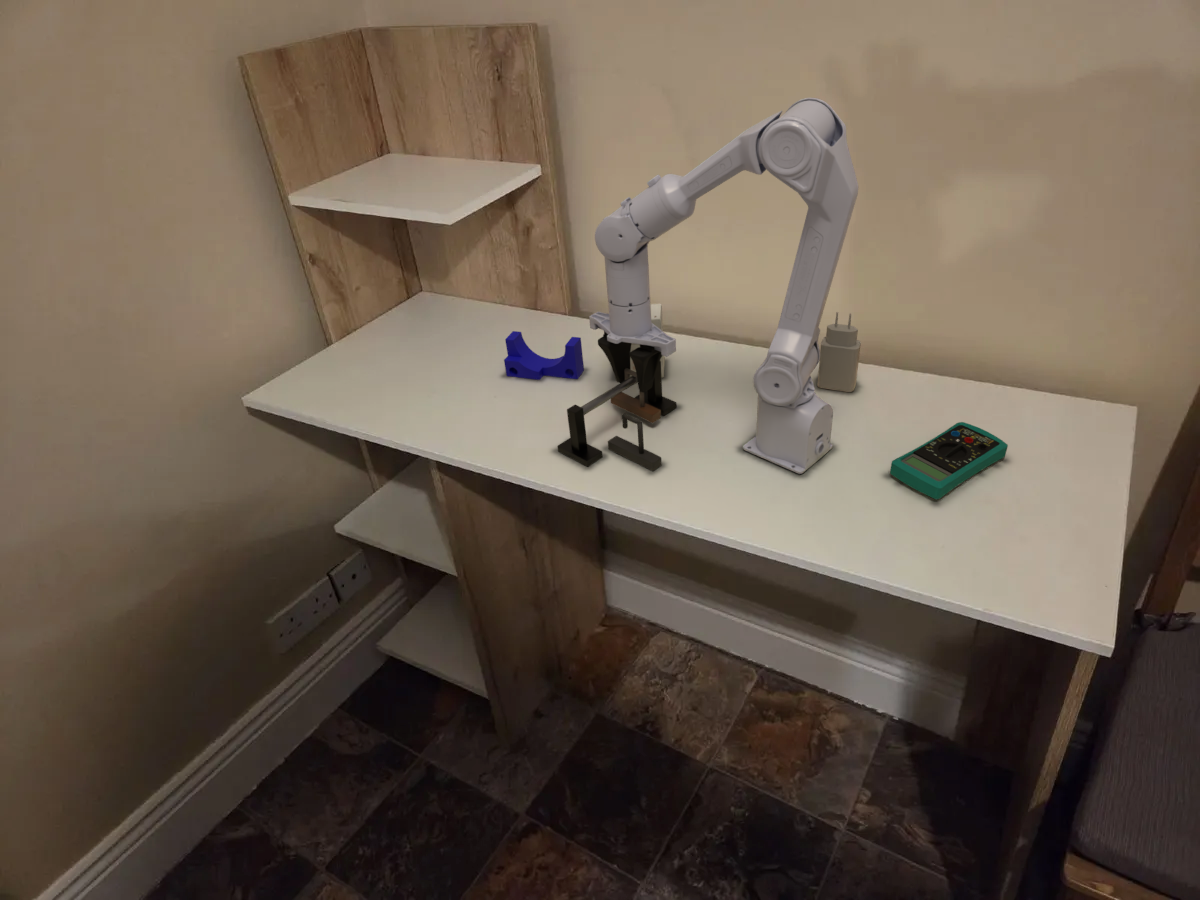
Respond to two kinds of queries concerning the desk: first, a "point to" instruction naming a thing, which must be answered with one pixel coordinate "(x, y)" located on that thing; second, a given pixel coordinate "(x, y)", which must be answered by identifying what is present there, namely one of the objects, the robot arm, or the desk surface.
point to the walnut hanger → (636, 403)
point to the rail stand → (577, 441)
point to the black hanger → (634, 447)
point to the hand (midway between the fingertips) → (634, 384)
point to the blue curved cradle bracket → (542, 360)
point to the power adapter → (839, 357)
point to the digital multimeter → (948, 459)
